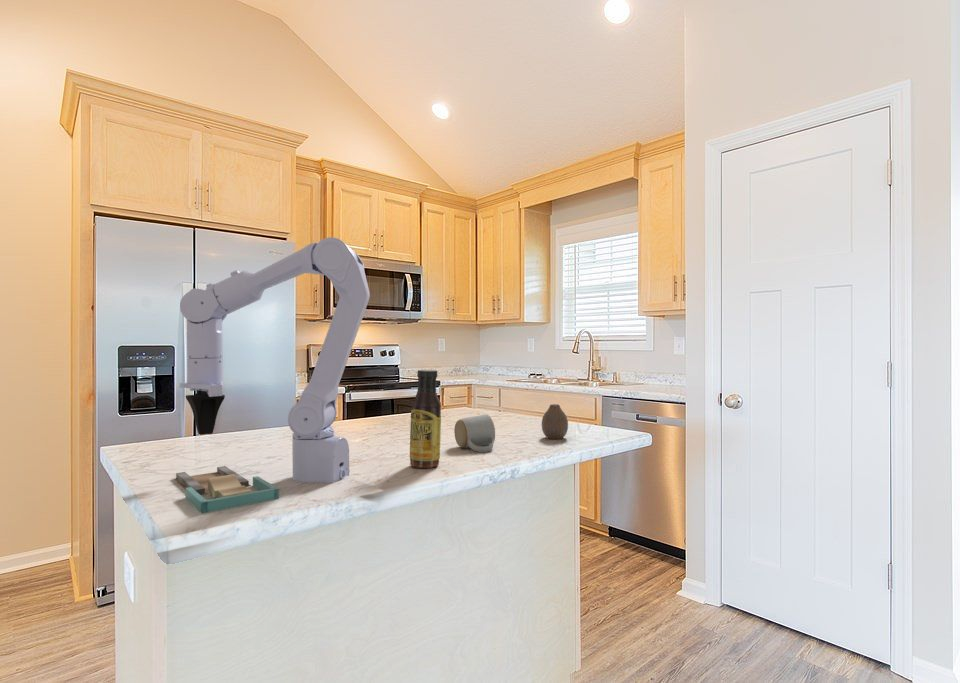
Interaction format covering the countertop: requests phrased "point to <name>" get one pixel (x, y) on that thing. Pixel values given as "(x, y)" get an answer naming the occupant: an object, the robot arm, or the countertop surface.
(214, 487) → the chip
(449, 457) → the countertop surface
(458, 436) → the ceramic mug
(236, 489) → the tan wooden block
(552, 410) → the vase
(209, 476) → the slot track
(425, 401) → the sauce bottle
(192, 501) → the teal u-shaped rail
